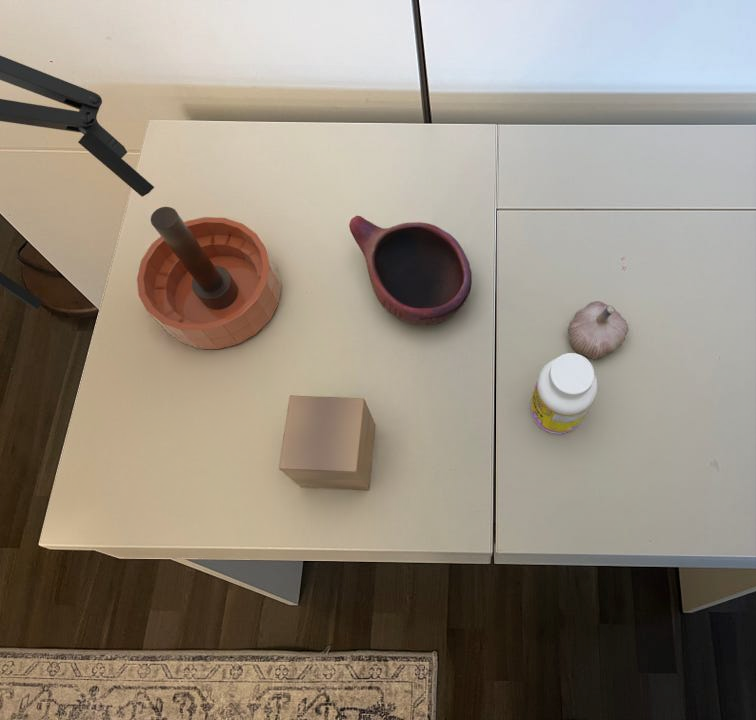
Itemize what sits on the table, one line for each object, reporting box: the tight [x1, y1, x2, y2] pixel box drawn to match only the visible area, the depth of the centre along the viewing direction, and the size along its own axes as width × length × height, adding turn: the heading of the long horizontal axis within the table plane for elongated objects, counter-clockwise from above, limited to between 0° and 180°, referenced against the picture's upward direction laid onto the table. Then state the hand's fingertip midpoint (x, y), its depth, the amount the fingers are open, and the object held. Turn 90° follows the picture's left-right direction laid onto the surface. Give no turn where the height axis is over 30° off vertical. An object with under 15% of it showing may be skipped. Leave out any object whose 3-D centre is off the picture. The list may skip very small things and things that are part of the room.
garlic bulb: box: [567, 301, 629, 360], centre depth 81 cm, size 8×7×8 cm
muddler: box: [150, 206, 238, 310], centre depth 77 cm, size 5×5×17 cm
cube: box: [278, 394, 376, 491], centre depth 74 cm, size 8×8×10 cm
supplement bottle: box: [530, 352, 598, 435], centre depth 75 cm, size 7×7×13 cm
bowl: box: [348, 215, 473, 326], centre depth 83 cm, size 16×13×8 cm
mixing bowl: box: [136, 216, 282, 350], centre depth 83 cm, size 16×16×6 cm
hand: (96, 247), depth 58 cm, fingers open, 13 cm apart
